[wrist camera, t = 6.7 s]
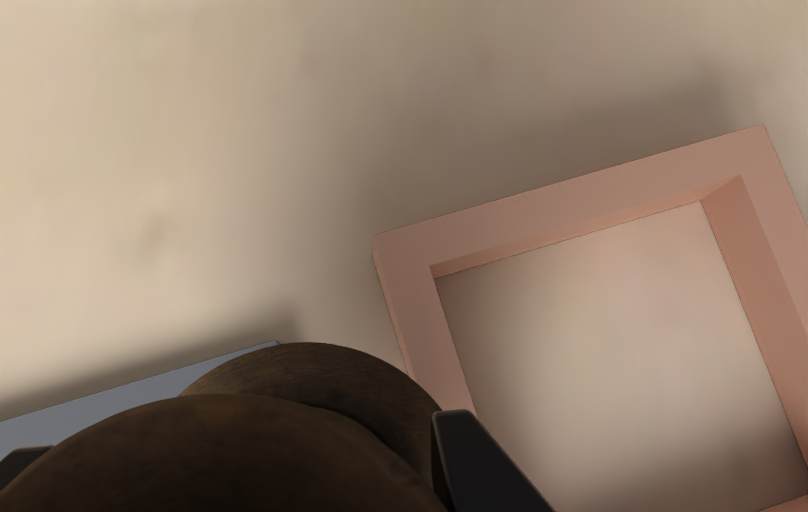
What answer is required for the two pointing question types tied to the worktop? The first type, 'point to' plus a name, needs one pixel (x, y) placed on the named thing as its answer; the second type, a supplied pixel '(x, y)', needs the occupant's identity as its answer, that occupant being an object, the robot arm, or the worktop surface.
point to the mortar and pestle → (252, 443)
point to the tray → (607, 206)
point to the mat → (102, 405)
